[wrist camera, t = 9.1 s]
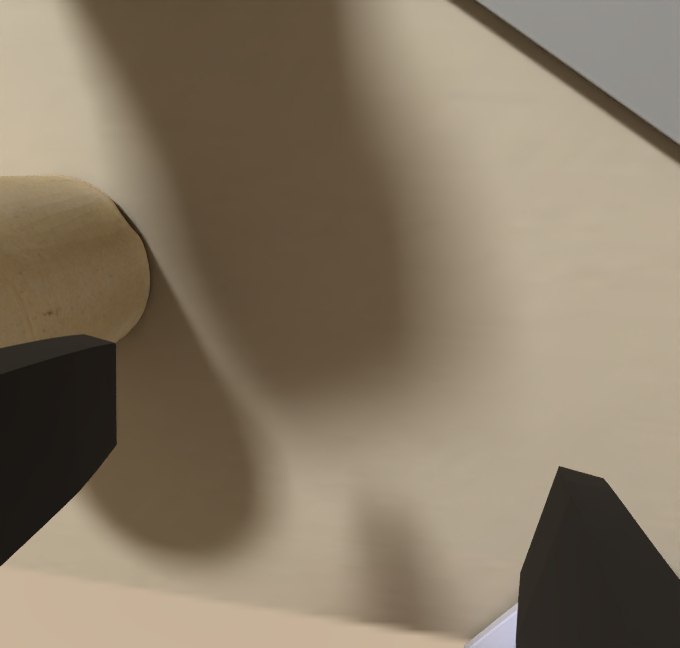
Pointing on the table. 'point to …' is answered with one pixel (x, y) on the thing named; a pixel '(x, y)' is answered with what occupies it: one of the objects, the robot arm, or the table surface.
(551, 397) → the table surface
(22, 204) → the flower pot
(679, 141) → the plate
